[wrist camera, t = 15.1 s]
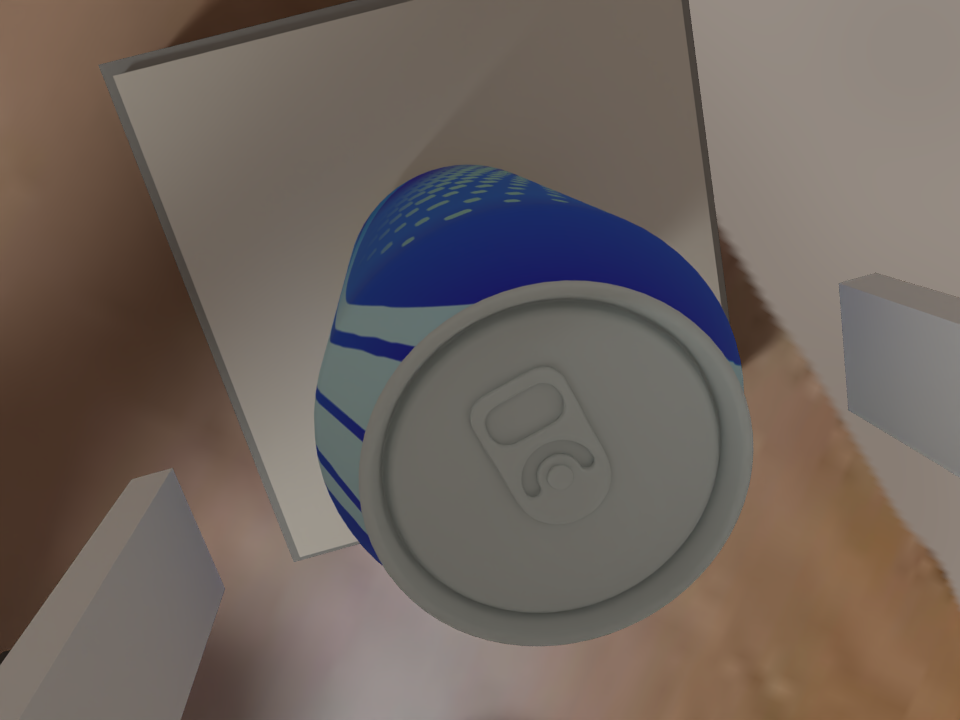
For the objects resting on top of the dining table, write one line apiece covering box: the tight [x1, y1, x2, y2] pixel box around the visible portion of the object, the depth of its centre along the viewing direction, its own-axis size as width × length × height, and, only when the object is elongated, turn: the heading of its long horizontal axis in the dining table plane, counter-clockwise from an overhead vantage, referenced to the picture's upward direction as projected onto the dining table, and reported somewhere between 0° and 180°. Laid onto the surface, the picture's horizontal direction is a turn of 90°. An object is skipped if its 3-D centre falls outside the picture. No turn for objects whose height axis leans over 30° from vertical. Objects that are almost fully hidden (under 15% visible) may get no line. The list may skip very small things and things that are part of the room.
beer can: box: [314, 165, 753, 646], centre depth 19 cm, size 8×8×16 cm
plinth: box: [99, 0, 730, 562], centre depth 29 cm, size 20×20×5 cm
